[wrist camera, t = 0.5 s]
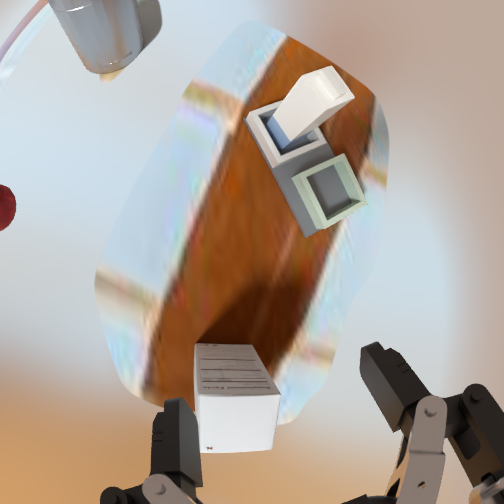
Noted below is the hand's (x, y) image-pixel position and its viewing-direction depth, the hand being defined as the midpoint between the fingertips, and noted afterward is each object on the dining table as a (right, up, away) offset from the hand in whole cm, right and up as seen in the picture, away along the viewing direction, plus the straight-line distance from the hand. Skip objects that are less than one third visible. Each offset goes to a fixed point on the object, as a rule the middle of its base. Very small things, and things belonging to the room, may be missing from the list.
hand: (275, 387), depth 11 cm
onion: (-33, +11, +16) cm, 39 cm away
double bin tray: (+6, +17, +23) cm, 29 cm away
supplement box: (-5, -9, +23) cm, 25 cm away
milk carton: (+3, +20, +22) cm, 30 cm away
